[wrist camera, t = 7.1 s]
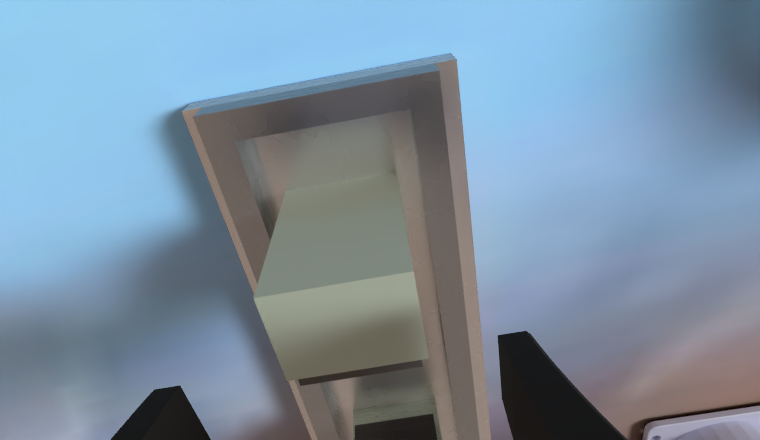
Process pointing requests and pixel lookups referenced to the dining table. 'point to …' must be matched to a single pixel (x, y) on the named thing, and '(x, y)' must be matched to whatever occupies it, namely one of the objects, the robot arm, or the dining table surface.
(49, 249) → the dining table surface
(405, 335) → the pale green cuboid
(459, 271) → the tray
